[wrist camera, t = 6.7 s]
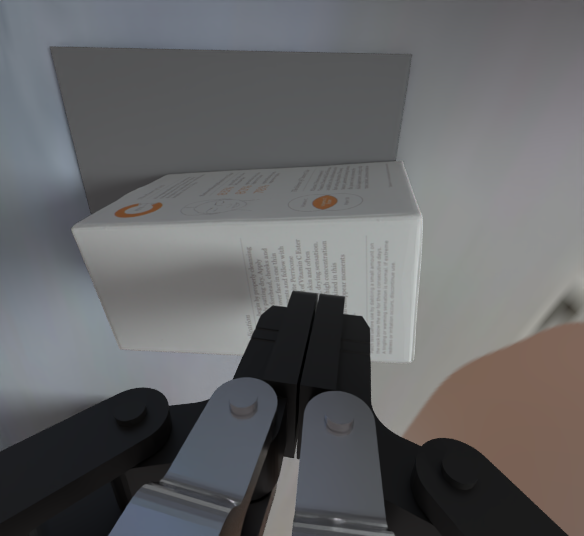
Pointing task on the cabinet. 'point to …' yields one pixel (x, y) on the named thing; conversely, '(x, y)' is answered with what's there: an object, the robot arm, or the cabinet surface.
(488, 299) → the cabinet surface
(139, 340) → the small box
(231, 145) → the mat
